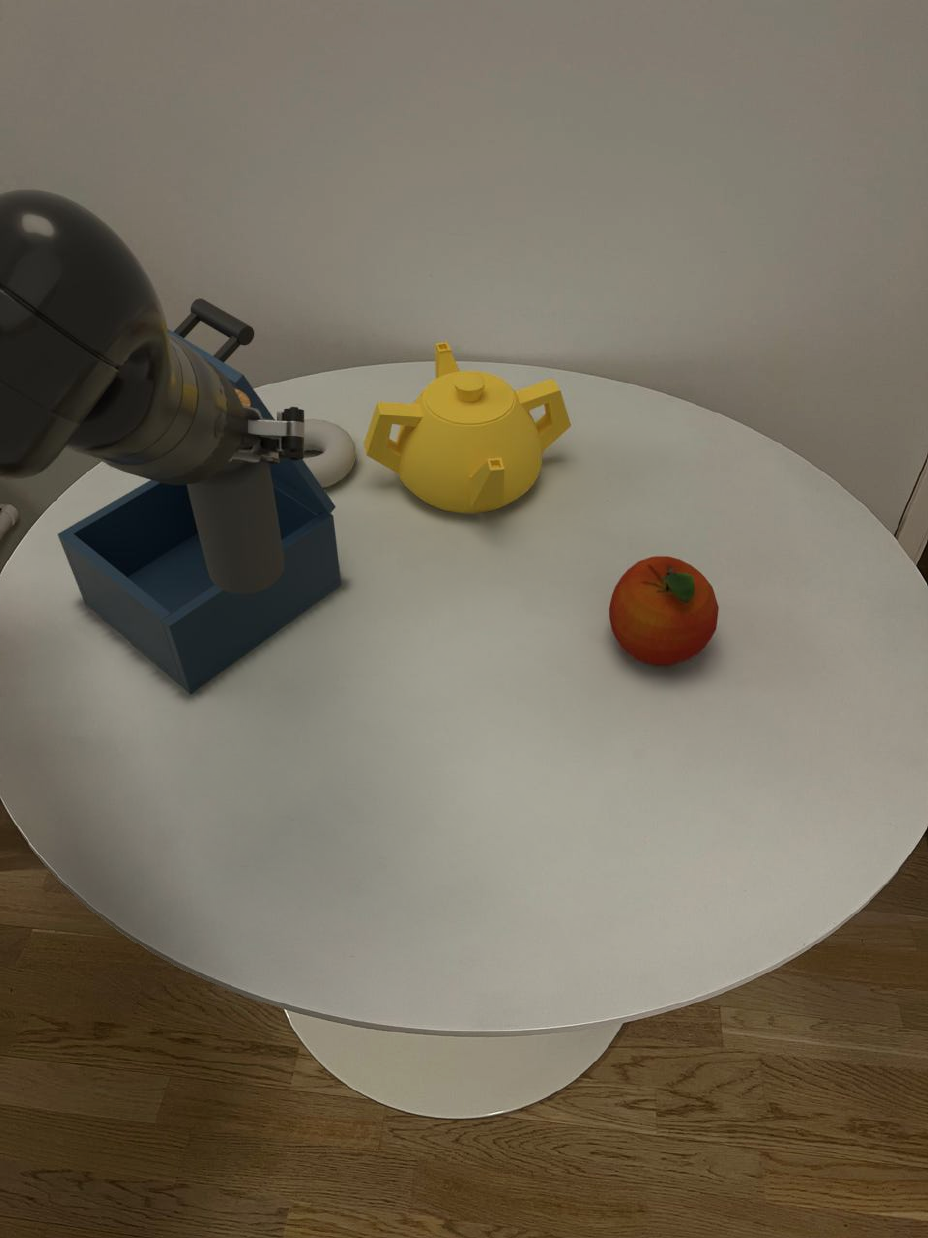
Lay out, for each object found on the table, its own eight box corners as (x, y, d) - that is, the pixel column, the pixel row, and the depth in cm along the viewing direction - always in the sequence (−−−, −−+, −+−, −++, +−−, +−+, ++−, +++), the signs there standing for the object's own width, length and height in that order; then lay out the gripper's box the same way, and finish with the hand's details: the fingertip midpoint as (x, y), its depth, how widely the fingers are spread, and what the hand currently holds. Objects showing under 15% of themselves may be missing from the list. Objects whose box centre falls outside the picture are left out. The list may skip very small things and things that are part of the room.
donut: (291, 510, 104) (374, 473, 107) (287, 484, 101) (372, 448, 105) (248, 459, 109) (329, 426, 113) (243, 433, 107) (325, 400, 110)
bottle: (283, 593, 75) (255, 431, 64) (204, 596, 75) (163, 434, 64) (287, 540, 79) (262, 378, 68) (212, 542, 79) (174, 380, 68)
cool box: (190, 694, 87) (169, 626, 81) (84, 604, 94) (56, 533, 88) (341, 585, 96) (333, 515, 90) (234, 509, 104) (219, 439, 97)
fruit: (686, 597, 96) (705, 519, 88) (724, 673, 90) (749, 596, 82) (590, 612, 94) (601, 534, 87) (622, 691, 88) (637, 614, 81)
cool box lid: (235, 383, 73) (283, 331, 74) (105, 303, 80) (151, 256, 81) (329, 514, 89) (367, 470, 90) (215, 438, 96) (252, 398, 97)
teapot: (358, 489, 106) (350, 394, 97) (442, 408, 115) (441, 315, 106) (497, 547, 100) (501, 452, 91) (572, 457, 110) (583, 363, 101)
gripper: (290, 341, 54) (332, 396, 71) (22, 334, 54) (128, 391, 71) (288, 481, 54) (330, 503, 71) (22, 475, 54) (127, 498, 71)
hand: (229, 447), depth 71 cm, fingers closed on bottle, 5 cm apart
